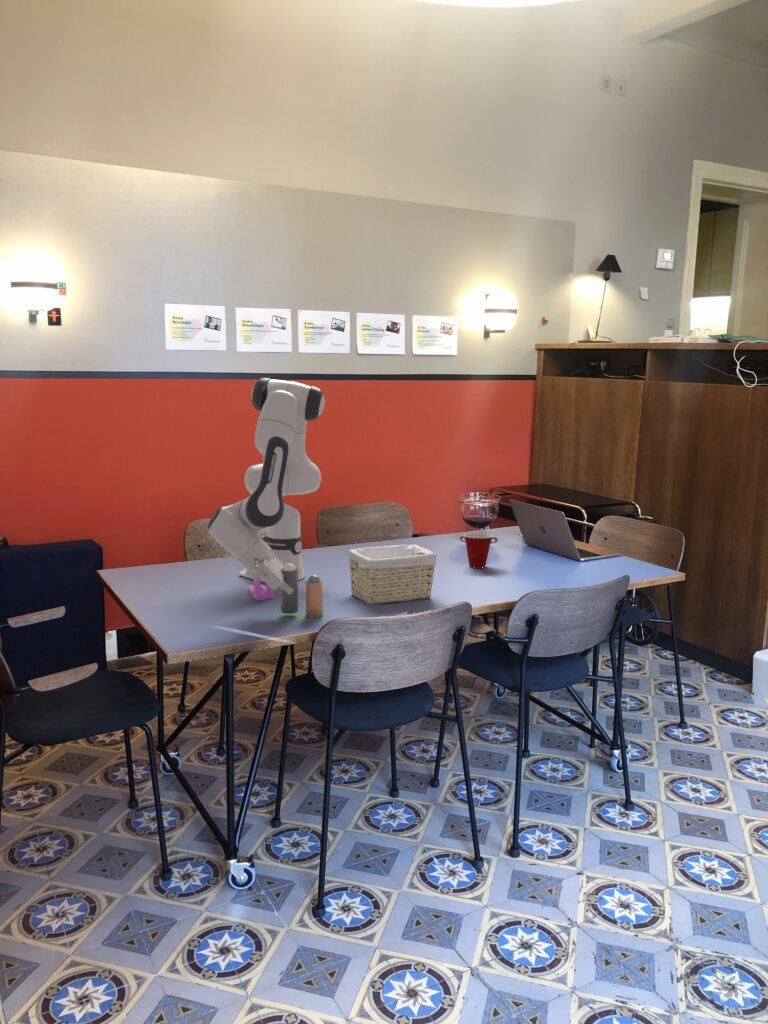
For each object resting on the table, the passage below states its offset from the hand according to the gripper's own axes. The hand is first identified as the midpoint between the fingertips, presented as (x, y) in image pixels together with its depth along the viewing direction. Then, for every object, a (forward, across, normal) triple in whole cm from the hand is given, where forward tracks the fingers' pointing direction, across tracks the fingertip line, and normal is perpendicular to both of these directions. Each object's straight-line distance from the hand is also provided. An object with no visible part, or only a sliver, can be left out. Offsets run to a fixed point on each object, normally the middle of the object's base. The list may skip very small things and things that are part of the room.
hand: (291, 589), depth 220 cm
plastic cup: (+54, +55, -41) cm, 87 cm away
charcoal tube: (+4, 0, +5) cm, 6 cm away
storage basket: (+28, +20, -16) cm, 38 cm away
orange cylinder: (+10, 0, +1) cm, 10 cm away
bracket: (0, +26, +13) cm, 29 cm away
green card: (+8, 0, +4) cm, 9 cm away
